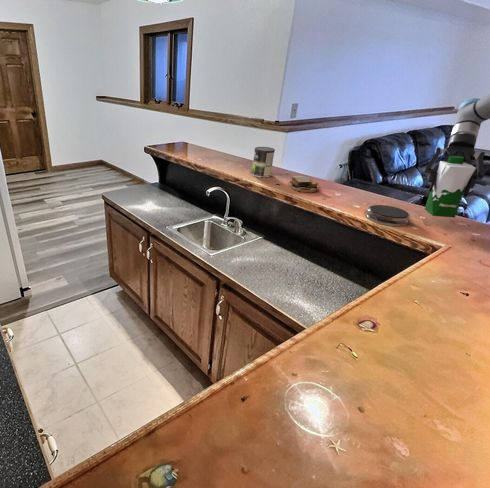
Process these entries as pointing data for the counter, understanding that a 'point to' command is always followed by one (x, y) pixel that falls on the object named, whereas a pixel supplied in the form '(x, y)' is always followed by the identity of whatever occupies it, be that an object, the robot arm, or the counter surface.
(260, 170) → the coffee can
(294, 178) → the toy sandwich meal
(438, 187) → the soya milk
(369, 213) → the stand
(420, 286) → the counter surface
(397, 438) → the counter surface
